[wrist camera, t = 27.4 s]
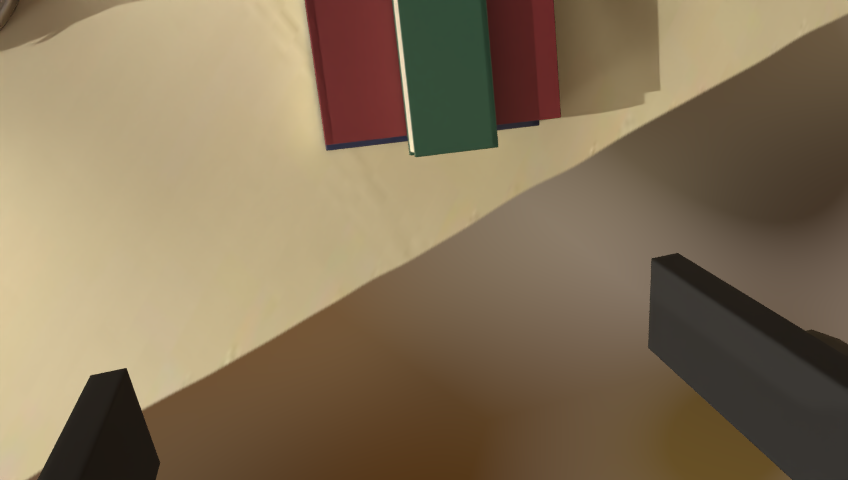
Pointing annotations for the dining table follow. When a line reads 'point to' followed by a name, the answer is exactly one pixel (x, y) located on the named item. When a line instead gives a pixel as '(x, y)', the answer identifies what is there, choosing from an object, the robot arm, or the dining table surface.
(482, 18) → the pocket book
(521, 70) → the encyclopedias
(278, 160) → the dining table surface
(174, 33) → the dining table surface
